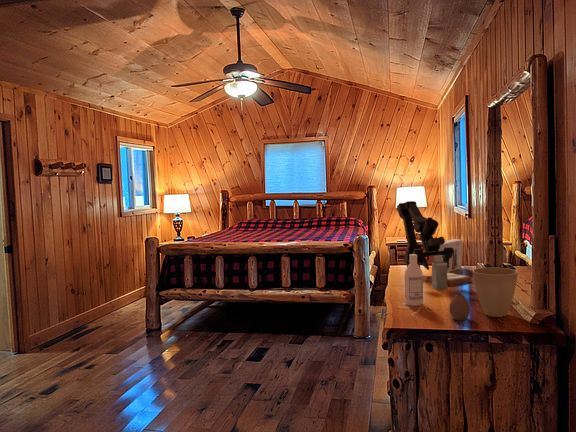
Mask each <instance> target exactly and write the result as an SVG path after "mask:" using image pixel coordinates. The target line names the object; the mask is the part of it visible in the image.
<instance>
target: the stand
mask: <svg viewBox="0 0 576 432" xmlns="http://www.w3.org/2000/svg"><path fill="white" fill-rule="evenodd" d="M426 278H427V279H426V281H427V282H428V281H429V282H430V283H432V275H428V276H426ZM471 278H472V277H471V276H469V275H464V274H458V273H451V272H447V287H453V286H457V285H463V284H467V283H471V282H472V279H471Z"/></svg>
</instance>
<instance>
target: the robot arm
mask: <svg viewBox="0 0 576 432" xmlns="http://www.w3.org/2000/svg"><path fill="white" fill-rule="evenodd" d="M396 206H397V207H396V211H397V214H398V216H399V217H400V219H402V220H403V221H402V222H403V226H404V230H405V231H404V233H405V238H406V243H407V246H406V248H405V254H404V256H403V263H405V264H406V268H407V267H408V265H409V264H410V261H409V255H410V254H416V255H417V264H418V266H419V267H420V268H421V266H423V267H424V268H425V269H426V270H427V271H429V270H430V267H429V264H428V262H427V258H426V257H434V256H442V258H443V261H444V262H446V263H447V269H448V268H449V259H450V258H452V256H453V254H454V252H455V251H454V249H453V248H452V247H447V248H444V250H443V251H438V249H440V245H442V244H444V243H445V241H446V239H445V237H444V236H439V237H434V235H435V234H436V231H437V230H438V227H439V222H438V221H437V220H436V219H433V218H432V217H425V216H424V215H423V214H422V212H421V211H420V208H419V207H418V205H417V202H416V201H415V200H411V201H410V200H409V201H405V202H399V203H398V205H396ZM416 233H420V234H419V238H418V239H419V241H421V243H422V245H421V244H420V243H418V242H417V241H418V240H417V237H416Z"/></svg>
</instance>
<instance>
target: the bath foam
mask: <svg viewBox="0 0 576 432" xmlns="http://www.w3.org/2000/svg"><path fill="white" fill-rule="evenodd" d="M408 261H410V264H409V265H408V267H407V266H406V268H405V271H404V298H405V299H404V302H405V304H406V305H407V306H409V307H410V306H411V307H419V306H423V304H424V281H423V280H424V276H423V271H422V269H421V266H420V267H419V266H418V264H417V255H416V254H410V255H409V260H408Z"/></svg>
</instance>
